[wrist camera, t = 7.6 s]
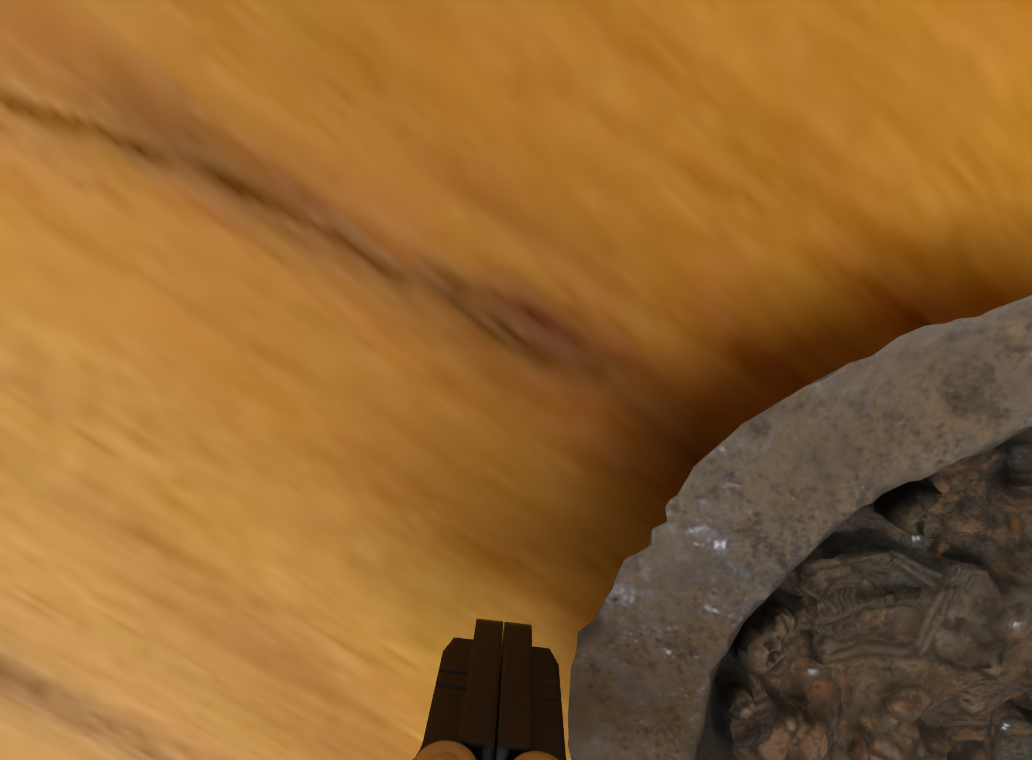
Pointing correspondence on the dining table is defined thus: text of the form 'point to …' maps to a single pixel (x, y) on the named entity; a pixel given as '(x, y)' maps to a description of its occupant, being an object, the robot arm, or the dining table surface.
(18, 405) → the dining table surface
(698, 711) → the stone bowl
